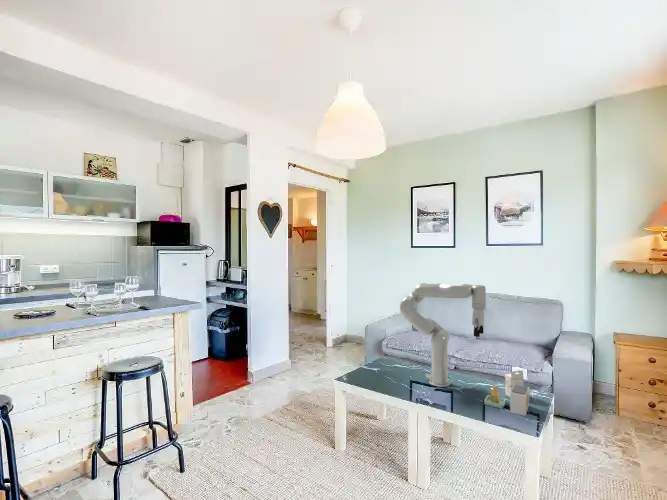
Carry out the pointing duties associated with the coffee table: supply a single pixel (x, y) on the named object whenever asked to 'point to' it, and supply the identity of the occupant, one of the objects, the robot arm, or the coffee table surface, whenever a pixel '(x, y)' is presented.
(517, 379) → the ink cartridge box
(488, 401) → the tray
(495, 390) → the roller
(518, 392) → the white box grey panel
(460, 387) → the coffee table surface
